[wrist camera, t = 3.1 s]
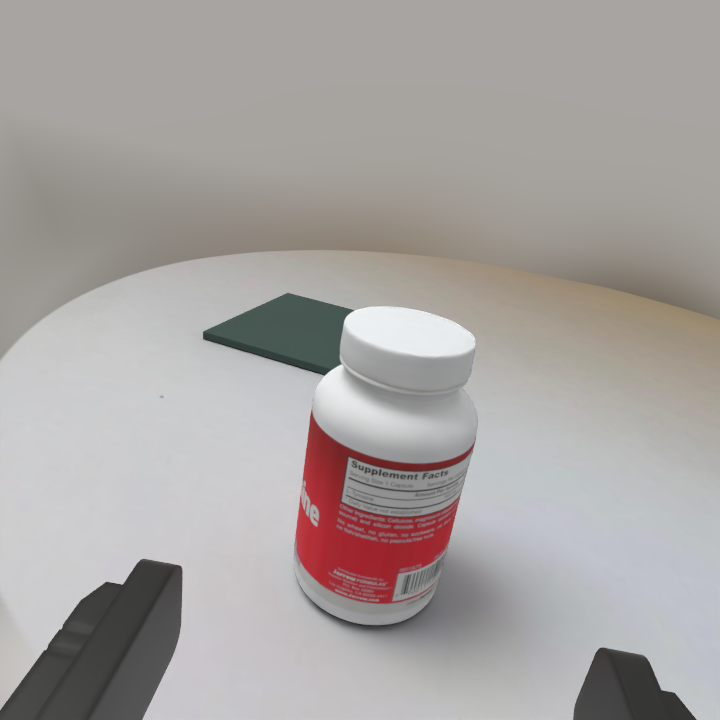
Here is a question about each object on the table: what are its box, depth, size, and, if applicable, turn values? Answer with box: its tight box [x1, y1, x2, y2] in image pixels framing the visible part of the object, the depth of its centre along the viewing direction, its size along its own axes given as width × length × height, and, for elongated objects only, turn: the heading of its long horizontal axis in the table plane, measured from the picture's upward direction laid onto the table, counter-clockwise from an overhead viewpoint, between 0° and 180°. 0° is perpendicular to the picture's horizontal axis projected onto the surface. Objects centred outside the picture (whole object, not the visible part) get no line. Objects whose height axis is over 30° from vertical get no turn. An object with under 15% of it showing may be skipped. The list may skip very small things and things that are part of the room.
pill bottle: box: [294, 306, 478, 625], centre depth 22 cm, size 6×6×11 cm
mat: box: [203, 293, 355, 375], centre depth 49 cm, size 14×14×1 cm
